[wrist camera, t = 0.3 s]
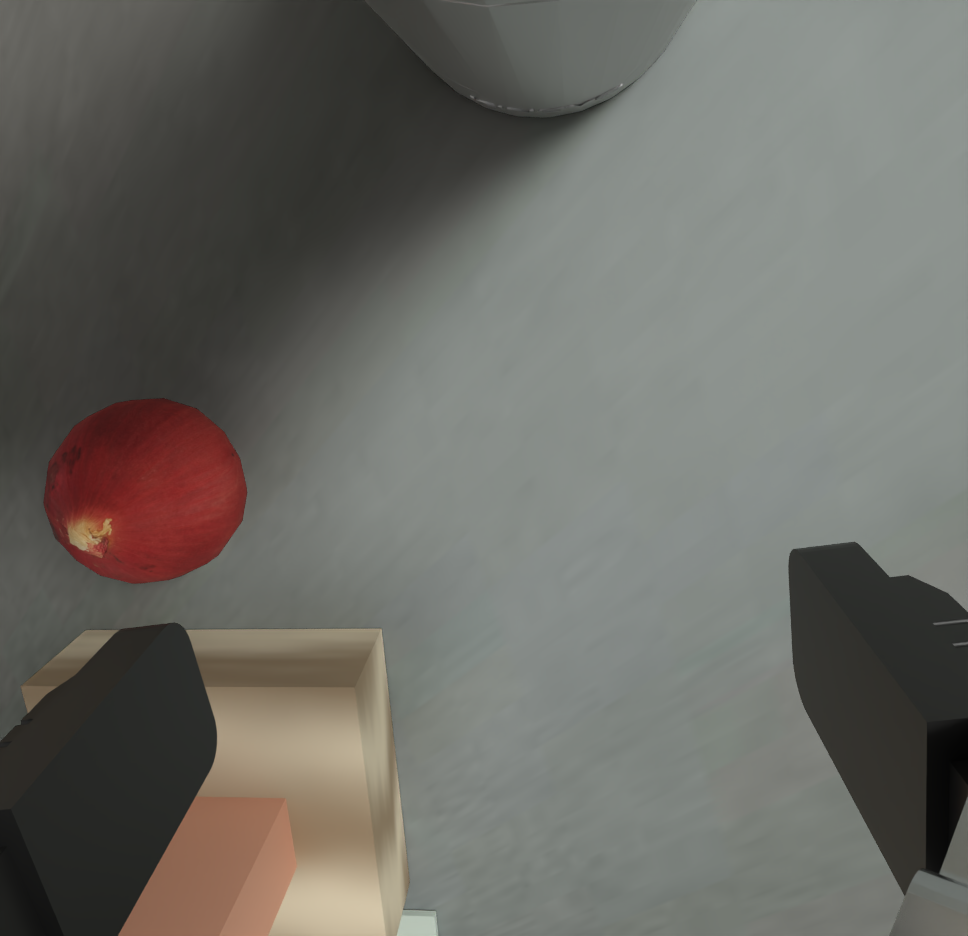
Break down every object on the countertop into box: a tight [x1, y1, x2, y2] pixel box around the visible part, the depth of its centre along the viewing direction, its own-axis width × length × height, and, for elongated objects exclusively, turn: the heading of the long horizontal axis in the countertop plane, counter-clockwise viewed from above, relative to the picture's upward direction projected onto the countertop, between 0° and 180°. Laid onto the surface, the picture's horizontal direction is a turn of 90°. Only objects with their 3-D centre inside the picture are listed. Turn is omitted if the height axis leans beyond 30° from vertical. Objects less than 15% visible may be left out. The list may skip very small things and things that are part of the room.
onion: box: [44, 398, 247, 584], centre depth 26 cm, size 6×6×8 cm
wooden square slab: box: [21, 629, 410, 936], centre depth 31 cm, size 12×12×4 cm
